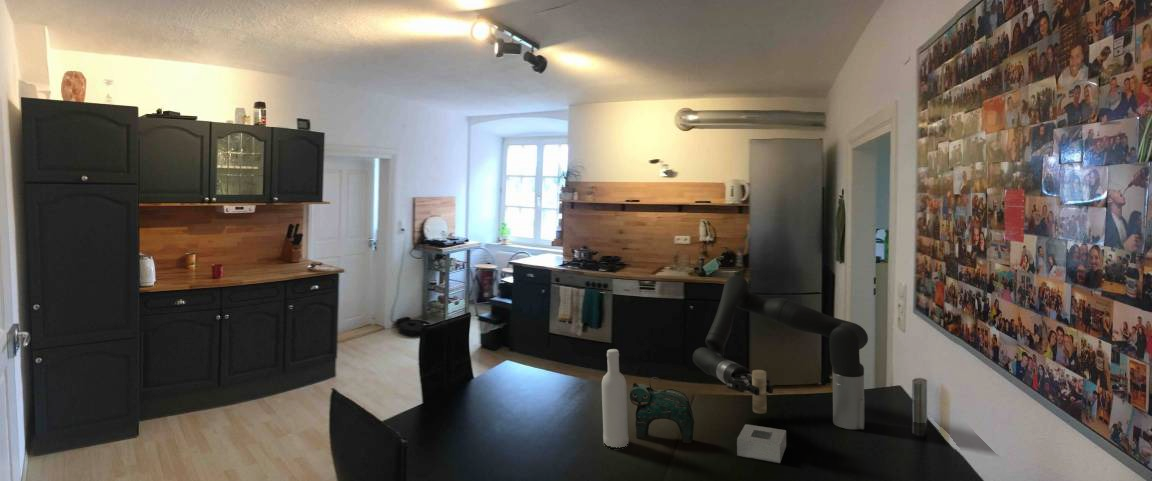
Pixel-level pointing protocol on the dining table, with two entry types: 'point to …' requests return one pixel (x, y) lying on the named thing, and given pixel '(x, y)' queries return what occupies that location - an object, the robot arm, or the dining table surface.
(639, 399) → the ceramic cat
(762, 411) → the wooden peg
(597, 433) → the dining table surface
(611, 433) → the bottle
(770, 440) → the socket block
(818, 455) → the dining table surface
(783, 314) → the robot arm
